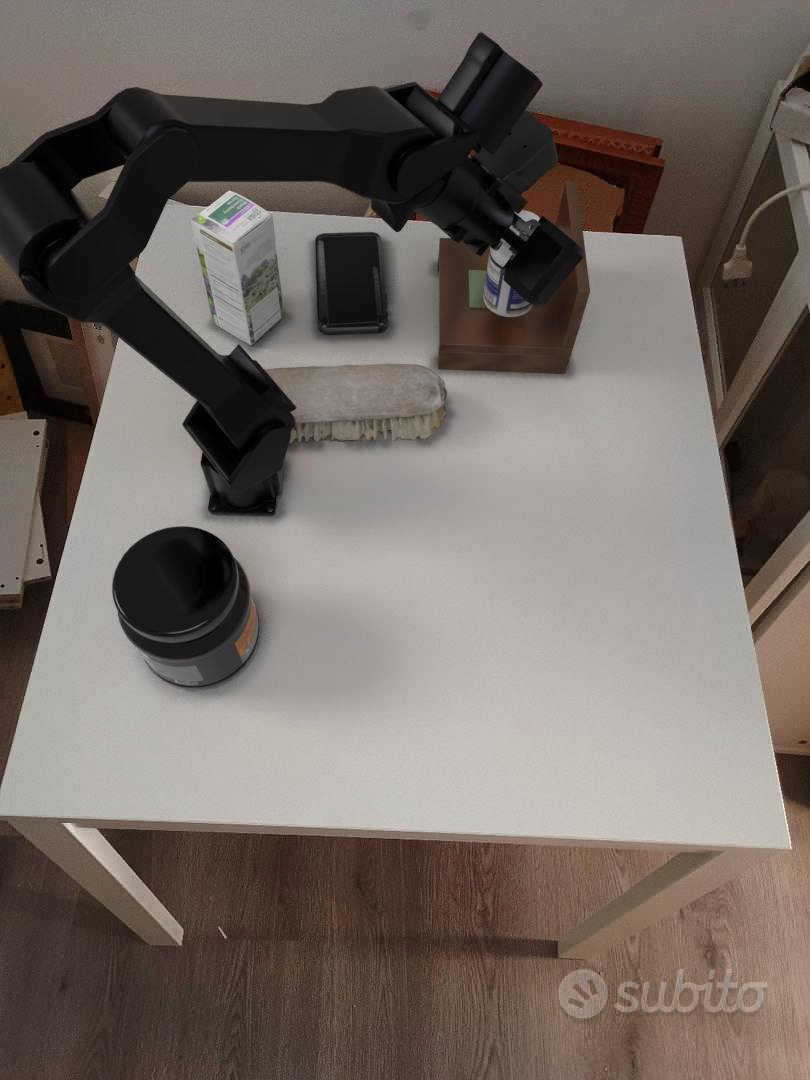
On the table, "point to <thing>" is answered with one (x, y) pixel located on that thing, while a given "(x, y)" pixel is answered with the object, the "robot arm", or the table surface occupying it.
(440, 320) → the wooden corner stand
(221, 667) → the supplement container
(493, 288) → the pill bottle
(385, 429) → the shoe brush
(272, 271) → the syrup box
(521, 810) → the table surface
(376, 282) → the phone
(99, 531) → the table surface
